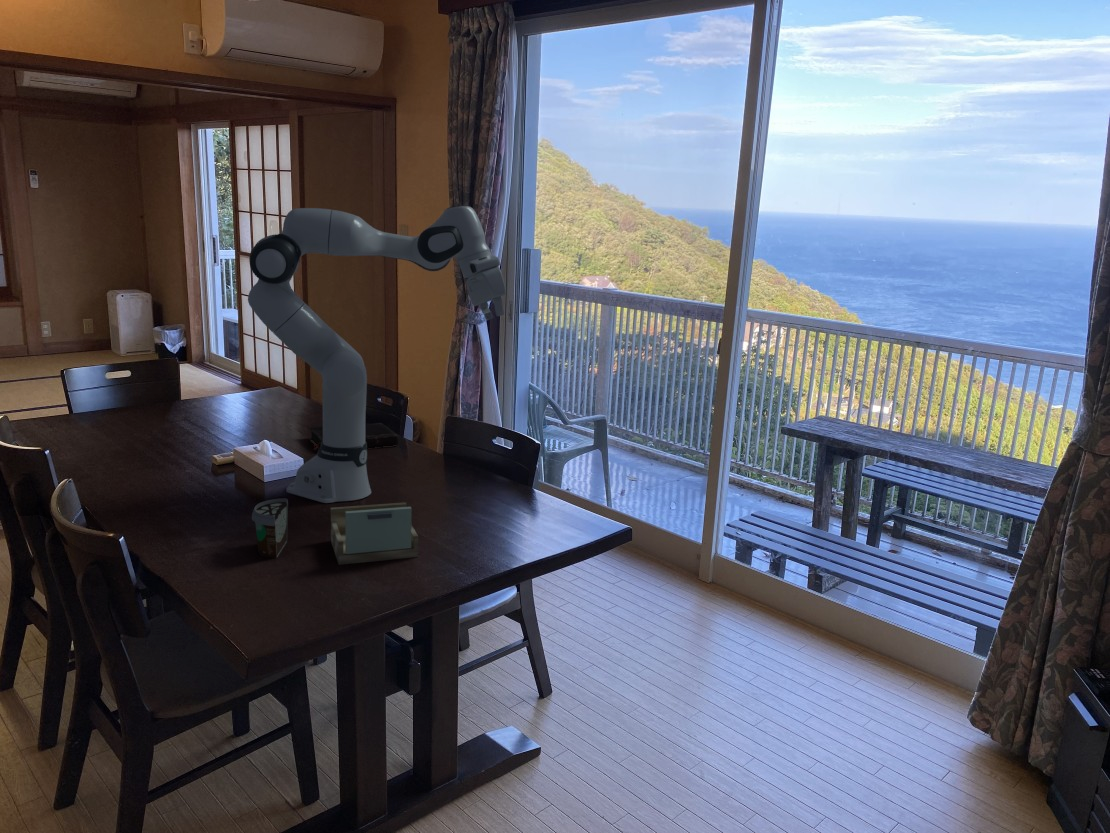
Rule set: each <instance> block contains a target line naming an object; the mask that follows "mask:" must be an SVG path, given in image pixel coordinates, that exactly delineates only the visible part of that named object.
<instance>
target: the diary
mask: <svg viewBox="0 0 1110 833" xmlns="http://www.w3.org/2000/svg"><path fill="white" fill-rule="evenodd" d="M307 429H308V431H309V430H310V433H311V435H310V436H311V439H312V440H313V441H314V442H315V443H316V444H319V443H320V442H322V441H323V425H320V426H319V425H318V426H308V427H307ZM365 441H366V442H367V450H369V449H368V448H375V447H383V446H393V445H399V435H398V433H396V432H394V431H393V430H392V429H391V428H390V427H388V426H387V425H385V424H383V423H382V422H376V423H375V422H374V423H366V424H365Z"/></svg>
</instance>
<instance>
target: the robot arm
mask: <svg viewBox="0 0 1110 833" xmlns="http://www.w3.org/2000/svg"><path fill="white" fill-rule="evenodd" d="M306 254H321V255H327V256H336V257H337V256H338V257H339V256H340V257H359V256H360V257H363V256H366V257H367V256H377V257H382V258H383V257H384V258H388V259H389V258H390V259H395V260H396V259H397V260H403V261H408V262H411V263H413V264H415V265H417V267H420V268H421V269H423V270H424V271H425V270H426V271H429V272H438V271H441V270H443V269H445V268H446V267H448V265H449V263H450V262H451V260H452V259H455V258H456V260H457V263H458V265H459V268H460V270H461V274H462V276H463V279H466V282H465V284H466V289H467V293H468V296H469V300H470V302H471V304H472V306H474V307H477V306H479V309H480V311H481V312H482V314H483V316H484V318H485V321H489V320H492V319H494V315H493V312H492V311H491V309H490V307H489V304H488V302H490V301H492V304H493V305H494V309H495V310H494V313H495V315H496V317H501V316H504V315H505V311H504V308H503V306H504V304H503V299H502V296H505V295H506V294H507V289H506V288H507V287H506V283H505V280H504V276H503V273H502V270H501V268H500V267H499V266H500V265H501V262H500V259H499V257H498V256H495V255H493V254H492V252H491V249H490V247H489V246H488V244H487V241H486V234H485V232H484V229H483V225H482V222H481V221H480V219H479V216H478V215H477V212H476V210H475V209H474V208H473V207H471V206H470V205H465V204H464V205H463V204H462V205H454V206H449V207H447V208H446V209H444V211H443V212H442V214H441V215H440V217H439V218H437V219H436V220H435V222H433V223H432V224H431V225H429V226H428V227H427V228H425V229H424V230H423V231H421V233H420V234H419V235H418V236H408V235H403V234H395V233H391V232H385V231H382V230H379V229H376V228H375V227H373V226H371V225H370V224H369V223H368V222H366V221H365V220H364V219H363V218H362V217H360V216H358V215H355V214H352V213H349V212H346V211H342V210H336V209H329V208H319V207H300V208H299V207H298V208H293V209H291V210H290V211H289V212H287V214H286V216H285V218H284V221H283V224H282V230H281V232H280V233H277V234H270V235H266V236H265V237H262V238H260V239H259V240H258V241H257V242H256V244H255V245H254V246H253V248H252V249H251V250H250V254H249V257H248V258H249V266H250V269H251V271H252V273H253V274H254V276H255V277H257V279H258V280H257V282H256V283H255V284H254V285H253V286H252V287H251V289H250V291H249V293H248V295H247V302H248V304H249V307H250V308H251V310H252V311H253V312H254V314H255V315H256V316H257V317H258V318H259V320H260V321H261V322H262V324H264V326H266V327H267V329H268V330H269V331H270V332H272V334H273V335H274V336H276V337H277V338H278V339H279V340H280V341H281V342H282V343H283V344H284V345H285V346H286V347H287V349H289V350H290V351H291V352H292V353H293V354H294V355H295V356H297V357H298V358H299V359H302V361H304V362H305V363H307V364H308V365H309V366H310V367H311V368H313V369H314V370H315V371H316V372H317V373H318V374H319V375H320V376H321V378H322V382H321V384H322V385H321V386H322V392H321V393H322V426H323V441H322V442H320V443H319V444H317V445H315V446H316V447H315V446H314V445H313V447H314V448H313V450H314V451H315V450H317V453H316V455H314V456H313V457H311V458H310V459H309V460H307V461H306V462H305V463H303V464H302V465H300V466H299V467H298V469H297V471H296V474H295V480H294V481H292V483H290V484H289V485H287V486H286V493H288V494H291V495H295V496H298V497H302V498H305V499H308V500H312V501H316V502H319V503H323V504H329V503H336V502H337V503H338V502H349V501H357V500H361V499H364V498H366V497H369V496H370V495H371V494H372V489H371V486H370V482H369V477H368V470H367V468H368V467H367V461H368V449H367V442H366V441H365V424H367V423H366V417H367V416H366V413H367V392H368V391H367V387H368V374H367V369H366V366H365V362H364V359H363V357H362V355H361V354H360V353H359V352H358V351H356V349H355V348H354V347H353V346H351V345H350V344H349V343H348V342H347V341H346V340H345V339H344V338H342V336H341V335H339V334H338V333H337V332H336V331H334V329H333V328H331V327H330V326H329V325H328V324H327V323H326V322H325V321H324V320H323V319H322V318H321V317H320V316H319V315H318V314H317V313H316V312H315V310H313V309H312V308H311V307H310V306H309V305H308V304H307V303H306V302H305V301H303V300H302V298H300V297H299V295H297V293H296V292H295V291H294V289H293V288H292V286H291V284H290V283H291V282H290V281H291V280H292V279H293V276H295V274H296V273H297V271H298V268H299V265H300V263H301V262H300V261H301V257H302V256H304V255H306Z"/></svg>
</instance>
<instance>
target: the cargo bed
mask: <svg viewBox="0 0 1110 833" xmlns="http://www.w3.org/2000/svg"><path fill="white" fill-rule="evenodd" d="M398 507H408V505H407V502H404V501H403V502H394V503H380V504H378V503H377V504H366V505H365V504H364V505H353V506H339V507H338V506H337V507H330V542H331V546H332V548H333V551H334V555H335V558H336V561H337V564H338V565H339V566H340V565H348V564H349V565H350V564H361V563H369V562H380V561H390V560H399V559H411V558H418V557H419V535H418V533H417V532H416V530H415V528H414V527H413V524H411V548H406V549H395V550H385V551H374V552H363V553H353V554H346V552H345V511H358V510H371V509H385V508H398Z"/></svg>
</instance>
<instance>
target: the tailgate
mask: <svg viewBox="0 0 1110 833" xmlns="http://www.w3.org/2000/svg"><path fill="white" fill-rule="evenodd" d="M412 512H413V511H412V507H411V506H407V507H398V508H385V509H371V510H358V511H345V552H346V554H353V553H363V552H374V551H385V550H395V549H406V548H411V525H412V515H413V514H412Z"/></svg>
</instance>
